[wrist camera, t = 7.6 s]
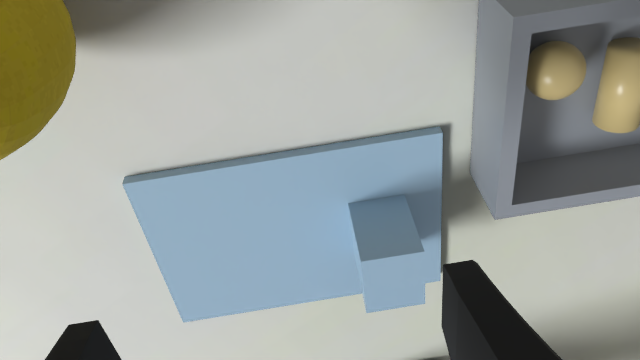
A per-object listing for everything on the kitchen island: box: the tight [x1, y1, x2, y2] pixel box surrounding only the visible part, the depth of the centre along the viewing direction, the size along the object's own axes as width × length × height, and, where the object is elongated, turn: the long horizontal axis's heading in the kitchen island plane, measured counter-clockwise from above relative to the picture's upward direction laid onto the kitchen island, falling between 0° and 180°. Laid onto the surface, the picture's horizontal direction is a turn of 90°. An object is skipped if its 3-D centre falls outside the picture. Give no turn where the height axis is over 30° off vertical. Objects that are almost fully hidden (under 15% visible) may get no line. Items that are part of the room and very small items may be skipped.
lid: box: [123, 126, 443, 322], centre depth 23 cm, size 9×13×4 cm
